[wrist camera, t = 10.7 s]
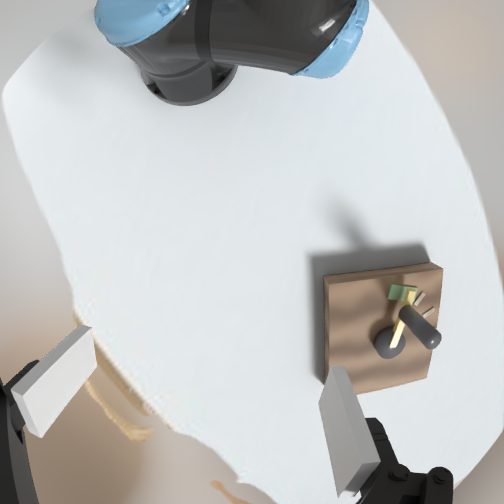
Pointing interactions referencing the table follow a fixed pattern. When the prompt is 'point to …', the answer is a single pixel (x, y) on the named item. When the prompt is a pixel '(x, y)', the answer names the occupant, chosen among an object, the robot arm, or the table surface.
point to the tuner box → (378, 323)
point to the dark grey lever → (392, 338)
